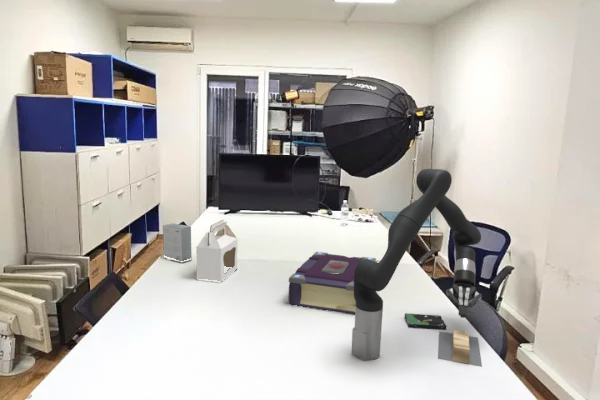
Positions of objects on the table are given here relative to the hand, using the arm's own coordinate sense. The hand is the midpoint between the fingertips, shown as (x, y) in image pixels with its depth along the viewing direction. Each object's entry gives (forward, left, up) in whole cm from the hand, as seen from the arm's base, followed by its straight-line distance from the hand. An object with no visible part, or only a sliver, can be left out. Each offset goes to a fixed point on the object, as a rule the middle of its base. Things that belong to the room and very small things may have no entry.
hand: (462, 316), depth 157 cm
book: (+3, +66, -13) cm, 68 cm away
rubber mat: (-1, 0, -12) cm, 12 cm away
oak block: (+2, +1, -9) cm, 9 cm away
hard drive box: (-32, +157, -12) cm, 161 cm away
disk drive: (+7, +19, -13) cm, 24 cm away
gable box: (-28, +121, -12) cm, 124 cm away
